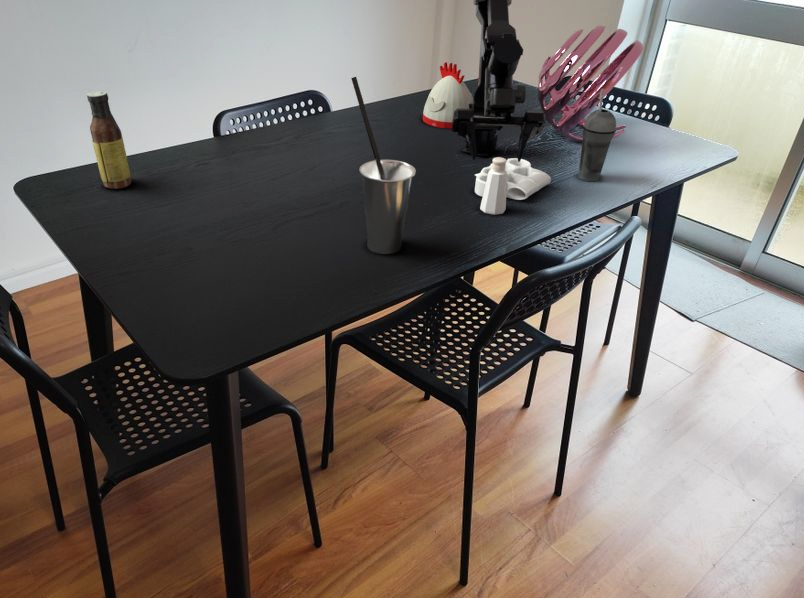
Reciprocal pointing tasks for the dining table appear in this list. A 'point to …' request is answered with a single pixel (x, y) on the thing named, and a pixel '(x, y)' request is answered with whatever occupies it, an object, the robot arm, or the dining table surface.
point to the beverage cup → (596, 142)
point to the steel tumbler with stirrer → (384, 194)
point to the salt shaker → (495, 188)
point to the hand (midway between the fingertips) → (496, 160)
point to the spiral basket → (584, 78)
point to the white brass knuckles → (516, 179)
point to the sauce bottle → (108, 143)
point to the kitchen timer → (446, 98)
